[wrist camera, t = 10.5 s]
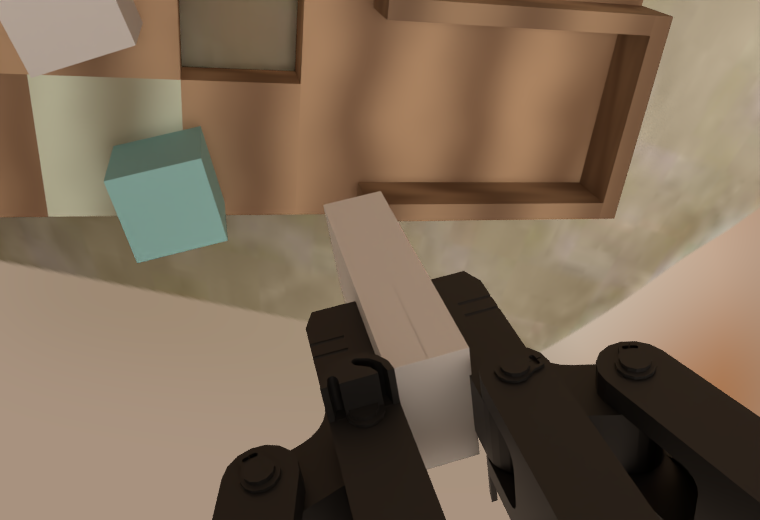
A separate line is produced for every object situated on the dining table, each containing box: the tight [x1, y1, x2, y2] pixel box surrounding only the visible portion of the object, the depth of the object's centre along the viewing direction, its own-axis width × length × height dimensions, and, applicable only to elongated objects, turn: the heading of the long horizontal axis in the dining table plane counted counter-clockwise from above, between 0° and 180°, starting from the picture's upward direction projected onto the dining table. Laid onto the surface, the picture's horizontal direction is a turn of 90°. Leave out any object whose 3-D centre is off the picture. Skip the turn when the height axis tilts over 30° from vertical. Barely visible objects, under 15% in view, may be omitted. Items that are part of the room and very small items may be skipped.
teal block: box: [104, 126, 228, 263], centre depth 35 cm, size 4×4×4 cm
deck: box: [0, 0, 673, 221], centre depth 36 cm, size 34×14×6 cm, turn 84°
